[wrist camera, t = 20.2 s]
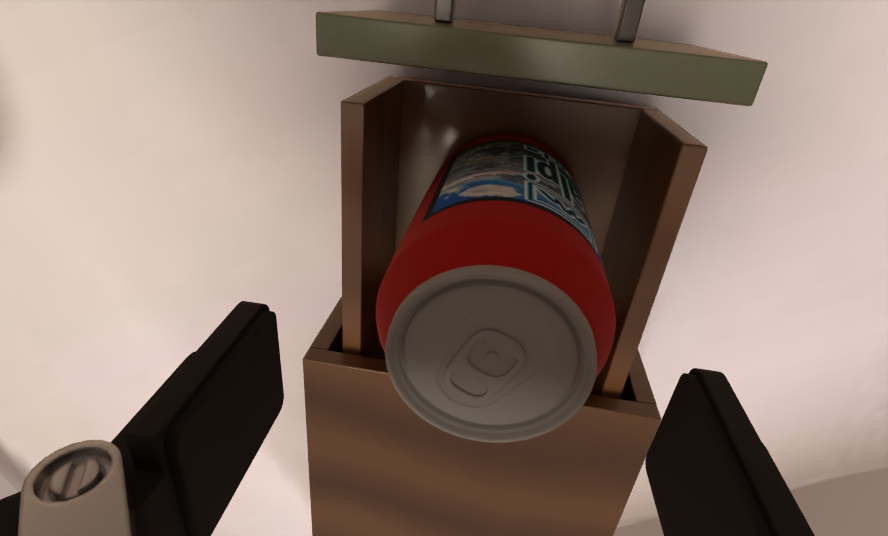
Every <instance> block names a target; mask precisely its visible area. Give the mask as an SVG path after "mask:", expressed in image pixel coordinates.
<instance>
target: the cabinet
mask: <svg viewBox="0 0 888 536" xmlns="http://www.w3.org/2000/svg"><path fill="white" fill-rule="evenodd" d="M303 372H304V390H305V408H306V426H307V444H308V462H309V480H310V498H311V516H312V534H313V536H613V534H614V532H615V529H616V527H617V525H618V522H619V520H620V517H621V515H622V513H623V510H624V508H625V505H626V503H627V501H628V498H629V496H630V493H631V491H632V489H633V486H634V484H635V481H636V479H637V477H638V474H639V472H640V469H641V467H642V465H643V462H644V460H645V457H646V455H647V452H648V450H649V448H650V445H651V443H652V441H653V438H654V436H655V433H656V431H657V429H658V426H659V424H660V421H661V417H660V414H659V411H658V408H657V406H656V402H655V399H654V396H653V393H652V390H651V387H650V384H649V381H648V378H647V375H646V372H645V369H644V366H643V363H642V360H641V357H640V354H639V351H638V348H637V351H636V354H635V357H634V360H633V362H632V365H631V368H630V371H629V374H628V377H627V379H626V382H625V385H624V388H623V391H622V394H621V397H620V399H616V398H610V397H604V396H598V395H592V394H590V395H589V396H588V398H587V400H586V401H585V403H584V404H583V406H582V407H581V408H580V409H579V410H578V412H577V413H576V414H575V415H574V416H572V417H571V418H570V419H569V420H568V421H566V422H565V423H564V424H562V425H561V426H559V427H557V428H556V429H554V430H552V431H550V432H547V433H545V434H543V435H540V436H537V437H534V438H530V439H526V440H522V441H515V442H505V443H491V442H481V441H474V440H470V439H465V438H462V437H458V436H455V435H453V434H450V433H447V432H445V431H443V430H441V429H439V428H437V427H435V426H433V425H431V424H430V423H428V422H427V421H425V420H424V419H422V418H421V417H420V416H418V415H417V414H416V413H415V412H414V411H413V410H412V409H411V408H410V407H409V406H408V405H407V404H406V403H405V402H404V401H403V399H402V398H401V397H400V396H399V394H398V392H397V391H396V389H395V387H394V386H393V384H392V381H391V379H390V376H389V373H388V370H387V366H386V360H382V359H376V358H370V357H364V356H358V355H352V354H346V353H343V339H342V297H341V298H340V300H339V302H338V303H337V305H336V306H335V308H334V310H333V311H332V313H331V314H330V316H329V318H328V319H327V321H326V322H325V324H324V326H323V327H322V329H321V330H320V332H319V334H318V335H317V337H316V338H315V340H314V342H313V343H312V345H311V346H310V348H309V350H308V351H307V353H306V354H305V356H304V358H303Z"/></svg>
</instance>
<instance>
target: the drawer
mask: <svg viewBox="0 0 888 536" xmlns="http://www.w3.org/2000/svg"><path fill="white" fill-rule="evenodd" d="M644 3H645V0H623V1H622V5H621V9H620V13H619V18H618V22H617V26H616V30H615V35H614V36H607V35H598V34H589V33H580V32H570V31H561V30H552V29H543V28H534V27H525V26H516V25H506V24H497V23H488V22H479V21H470V20H461V19H454V11H455V0H436V2H435V15H434V17H433V16H424V15H415V14H406V13H397V12H388V11H339V12H317V13H316V43H317V55H319V56H328V57H336V58H344V59H353V60H361V61H370V62H378V63H387V64H395V65H404V66H412V67H421V68H429V69H438V70H446V71H455V72H463V73H472V74H480V75H488V76H497V77H505V78H514V79H522V80H531V81H539V82H548V83H556V84H565V85H573V86H582V87H590V88H599V89H607V90H616V91H624V92H632V93H641V94H649V95H658V96H666V97H675V98H683V99H692V100H700V101H709V102H717V103H726V104H734V105H743V106H752V104H753V102H754V99H755V97H756V94H757V91H758V89H759V86H760V83H761V81H762V78H763V75H764V73H765V70H766V68H767V65H768V63H767V62H765V61H761V60H756V59H752V58H747V57H743V56H739V55H734V54H730V53H725V52H721V51H716V50H712V49H707V48H703V47H699V46H694V45H689V44H680V43H671V42H662V41H653V40H644V39H635V38H636V34H637V30H638V26H639V22H640V18H641V14H642V10H643V6H644ZM502 133H505V134H518V135H523V136H527V137H530V138H533V139H535V140H538V141H540V142H542V143H543V144H545V145H547V146H548V147H550V148H551V149H552V150H554V151H555V152H556V153H557V154H558V155H559V156H560V157H561V158H562V159H563V160H564V161H565V163H566V164H567V165H568V167H569V168H570V170H571V172H572V174H573V176H574V178H575V181H576V183H577V186H578V189H579V192H580V195H581V197H582V200H583V203H584V206H585V209H586V212H587V215H588V218H589V221H590V224H591V228H592V231H593V234H594V237H595V241H596V244H597V247H598V251H599V254H600V257H601V260H602V264H603V267H604V271H605V274H606V278H607V281H608V285H609V288H610V292H611V295H612V299H613V303H614V308H615V316H616V327H615V336H614V341H613V345H612V348H611V351H610V354H609V356H608V359H607V361H606V363H605V365H604V367H603V368H602V370H601V371H600V373H599V374H598V376H597V377H596V379H595V382H594V385H593V388H592V391H591V393H590V394H592V395H598V396H604V397H610V398H616V399H620V397H621V394H622V391H623V388H624V385H625V382H626V379H627V377H628V374H629V371H630V368H631V365H632V362H633V360H634V357H635V354H636V351H637V348H638V345H639V343H640V340H641V337H642V334H643V331H644V328H645V325H646V323H647V320H648V317H649V314H650V311H651V308H652V306H653V303H654V300H655V297H656V294H657V291H658V289H659V286H660V283H661V280H662V277H663V274H664V271H665V269H666V266H667V263H668V260H669V257H670V254H671V252H672V249H673V246H674V243H675V240H676V237H677V235H678V232H679V229H680V226H681V223H682V220H683V217H684V215H685V212H686V209H687V206H688V203H689V200H690V198H691V195H692V192H693V189H694V186H695V183H696V181H697V178H698V175H699V172H700V169H701V166H702V163H703V161H704V158H705V155H706V152H707V146H705V145H704V144H703V143H701V142H700V141H699V140H697V139H696V138H695V137H693V136H692V135H691V134H690V133H688V132H687V131H686V130H684V129H683V128H682V127H680V126H679V125H678V124H676V123H675V122H674V121H672V120H671V119H670V118H668V117H667V116H666V115H665V114H663V113H662V112H661V111H660V110H658V109H657V108H654V107H645V106H637V105H629V104H620V103H612V102H604V101H595V100H587V99H579V98H570V97H562V96H554V95H545V94H537V93H529V92H520V91H512V90H504V89H495V88H487V87H479V86H470V85H462V84H454V83H445V82H437V81H429V80H420V79H412V78H404V77H395V76H389V77H387V78H385V79H383V80H381V81H379V82H377V83H375V84H373V85H372V86H370V87H368V88H366V89H364V90H362V91H360V92H358V93H356V94H354V95H352V96H350V97H348V98H346V99H345V100H343V101H341V186H342V339H343V353H346V354H352V355H358V356H364V357H370V358H376V359H382V360H386V359H385V353H384V350H383V348H382V345H381V342H380V339H379V335H378V330H377V324H376V301H377V296H378V291H379V288H380V285H381V282H382V280H383V277H384V275H385V273H386V271H387V269H388V267H389V265H390V263H391V261H392V259H393V257H394V255H395V253H396V251H397V249H398V247H399V244H400V242H401V240H402V238H403V236H404V234H405V233H406V231H407V229H408V227H409V225H410V223H411V221H412V219H413V217H414V215H415V213H416V211H417V209H418V207H419V205H420V204H421V202H422V200H423V198H424V196H425V194H426V192H427V191H428V189H429V187H430V185H431V183H432V182H433V180H434V178H435V176H436V175H437V173H438V171H439V169H440V168H441V166H442V165H443V163H444V162H445V161H446V160H447V158H448V157H449V156H450V155H451V154H452V153H454V152H455V151H456V150H457V149H459V148H460V147H461V146H463V145H465V144H466V143H468V142H470V141H472V140H474V139H477V138H480V137H483V136H487V135H492V134H502Z"/></svg>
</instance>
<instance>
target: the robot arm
mask: <svg viewBox="0 0 888 536" xmlns="http://www.w3.org/2000/svg"><path fill="white" fill-rule="evenodd" d="M283 399H284V393H283V383H282V372H281V362H280V352H279V341H278V331H277V321H276V314H275V313H274V312H271V311H269V307H268V306H267V305H266V304H259V303H253V302H246V301H242V302H240V303H239V304H238V305H237V306H236V307H235V308H234V309H233V310H232V311H231V313H230V314H229V315H228V316H227V317H226V318H225V319H224V321H223V322H222V323H221V324H220V325H219V326H218V327H217V328H216V330H215V331H214V332H213V333H212V334H211V335H210V336H209V338H208V339H207V340H206V341H205V342H204V343H203V344H202V345H201V347H200V348H199V349H198V350H197V351H196V352H193V353H191V354H190V355H189V356H188V357H187V358H186V359H185V360H184V361H183V362H182V363H181V365H180V366H179V367H178V368H177V369H176V370H175V371H174V372H173V373H172V375H171V376H170V377H169V378H168V379H167V380H166V381H165V382H164V384H163V385H162V386H161V387H160V388H159V389H158V390H157V391H156V393H155V394H154V395H153V396H152V397H151V398H150V399H149V400H148V401H147V403H146V404H145V405H144V406H143V407H142V408H141V409H140V410H139V412H138V413H137V414H136V415H135V416H134V417H133V418H132V419H131V420H130V422H129V423H128V424H127V425H126V426H125V427H124V428H123V429H122V431H121V432H120V433H119V434H118V435H117V436H116V437H115V438H114V440H113V441H112V442H111V443H110V442H106V441H103V440H87V441H82V442H78V443H73V444H71V445H68V446H66V447H63V448H61V449H59V450H57V451H55V452H54V453H52V454H50V455H49V456H47V457H45V458H44V459H43V460H42V461H41V462H39V463H38V464H37V465H36V466H35V467H34V468H33V469H32V470H31V472H30V473H29V474H28V476H27V477H26V479H25V480H24V483H23V486H22V490H21V492H18V493H16V494H13V495H11V496H8V497H6V498H3V499H1V500H0V536H211V534H212V533H213V531H214V529H215V527H216V526H217V524H218V522H219V520H220V518H221V517H222V515H223V513H224V511H225V509H226V508H227V506H228V504H229V502H230V500H231V499H232V497H233V495H234V493H235V491H236V490H237V488H238V486H239V484H240V482H241V481H242V479H243V477H244V475H245V473H246V472H247V470H248V468H249V466H250V464H251V463H252V461H253V459H254V457H255V456H256V454H257V452H258V450H259V448H260V447H261V445H262V443H263V441H264V439H265V438H266V436H267V434H268V432H269V430H270V429H271V427H272V425H273V423H274V421H275V420H276V418H277V416H278V414H279V412H280V410H281V408H282V405H283ZM646 472H647V475H648V479H649V483H650V486H651V490H652V494H653V497H654V501H655V504H656V508H657V512H658V515H659V519H660V523H661V526H662V530H663V533H664V536H814V534H813V532H812V530H811V528H810V526H809V525H808V523H807V521H806V519H805V517H804V515H803V514H802V512H801V510H800V508H799V507H798V505H797V503H796V501H795V499H794V497H793V496H792V494H791V492H790V490H789V488H788V487H787V485H786V483H785V481H784V479H783V477H782V476H781V474H780V472H779V470H778V468H777V467H776V465H775V463H774V461H773V459H772V458H771V456H770V454H769V452H768V450H767V449H766V447H765V446H764V444H763V443H762V442H761V440H760V438H759V437H758V435H757V433H756V431H755V429H754V427H753V426H752V424H751V422H750V420H749V418H748V417H747V415H746V413H745V411H744V409H743V407H742V406H741V404H740V402H739V400H738V398H737V397H736V395H735V393H734V391H733V389H732V387H731V386H730V384H729V382H728V380H727V378H726V377H725V375H724V374H723V373H721V372H717V371H710V370H704V369H697V368H694V369H692V370H691V371H690V372H689V374H686V373H684V374H682V375H681V377H680V379H679V381H678V383H677V386H676V388H675V390H674V393H673V395H672V397H671V399H670V402H669V404H668V406H667V409H666V411H665V413H664V416H663V418H662V420H661V422H660V425H659V427H658V429H657V432H656V434H655V436H654V439H653V441H652V443H651V445H650V448H649V450H648V452H647V455H646Z"/></svg>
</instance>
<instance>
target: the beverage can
mask: <svg viewBox="0 0 888 536" xmlns="http://www.w3.org/2000/svg"><path fill="white" fill-rule="evenodd" d="M376 324H377V330H378V335H379V339H380V342H381V345H382V348H383V350H384V353H385V359H386V366H387V370H388V373H389V376H390V379H391V381H392V384H393V386H394V387H395V389H396V391H397V392H398V394H399V396H400V397H401V398H402V399H403V401H404V402H405V403H406V404H407V405H408V406H409V407H410V408H411V409H412V410H413V411H414V412H415V413H416V414H417V415H418V416H420V417H421V418H422V419H424V420H425V421H427V422H428V423H430V424H431V425H433V426H435V427H437V428H439V429H441V430H443V431H445V432H447V433H450V434H453V435H455V436H458V437H462V438H465V439H470V440H474V441H481V442H491V443H505V442H515V441H522V440H526V439H530V438H534V437H537V436H540V435H543V434H545V433H547V432H550V431H552V430H554V429H556V428H557V427H559V426H561V425H562V424H564V423H565V422H566V421H568V420H569V419H570V418H571V417H572V416H574V415H575V414H576V413H577V412H578V410H579V409H580V408H581V407H582V406H583V404H584V403H585V401H586V400H587V398H588V396H589V395H590V393H591V391H592V388H593V385H594V382H595V379H596V377H597V376H598V374H599V373H600V371H601V370H602V368H603V367H604V365H605V363H606V361H607V359H608V356H609V354H610V351H611V348H612V345H613V341H614V336H615V327H616V316H615V308H614V303H613V299H612V295H611V292H610V288H609V285H608V281H607V278H606V274H605V271H604V267H603V264H602V260H601V257H600V254H599V251H598V247H597V244H596V241H595V237H594V234H593V231H592V228H591V224H590V221H589V218H588V215H587V212H586V209H585V206H584V203H583V200H582V197H581V195H580V192H579V189H578V186H577V183H576V181H575V178H574V176H573V174H572V172H571V170H570V168H569V167H568V165H567V164H566V163H565V161H564V160H563V159H562V158H561V157H560V156H559V155H558V154H557V153H556V152H555V151H554V150H552V149H551V148H550V147H548V146H547V145H545V144H543V143H542V142H540V141H538V140H535V139H533V138H530V137H527V136H523V135H518V134H505V133H502V134H492V135H487V136H483V137H480V138H477V139H474V140H472V141H470V142H468V143H466V144H465V145H463V146H461V147H460V148H459V149H457V150H456V151H455V152H454V153H452V154H451V155H450V156H449V157H448V158H447V160H446V161H445V162H444V163H443V165H442V166H441V168H440V169H439V171H438V173H437V175H436V176H435V178H434V180H433V182H432V183H431V185H430V187H429V189H428V191H427V192H426V194H425V196H424V198H423V200H422V202H421V204H420V205H419V207H418V209H417V211H416V213H415V215H414V217H413V219H412V221H411V223H410V225H409V227H408V229H407V231H406V233H405V234H404V236H403V238H402V240H401V242H400V244H399V247H398V249H397V251H396V253H395V255H394V257H393V259H392V261H391V263H390V265H389V267H388V269H387V271H386V273H385V275H384V277H383V280H382V282H381V285H380V288H379V291H378V296H377V301H376Z"/></svg>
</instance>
